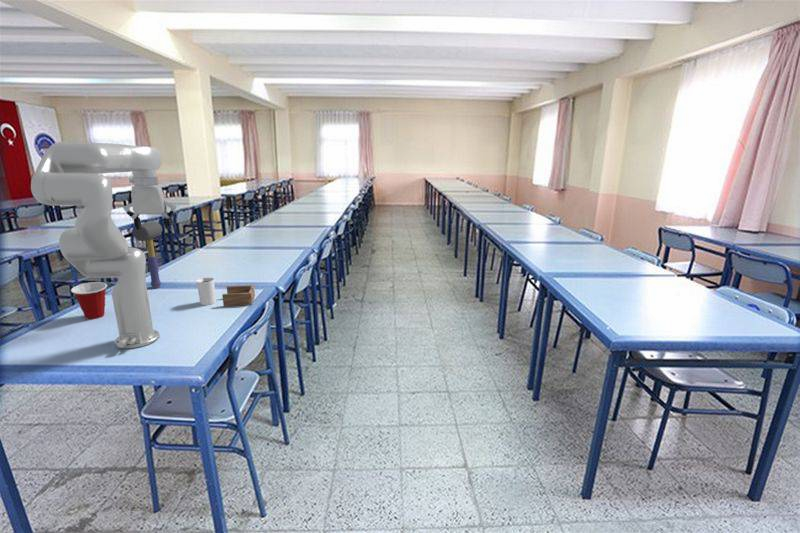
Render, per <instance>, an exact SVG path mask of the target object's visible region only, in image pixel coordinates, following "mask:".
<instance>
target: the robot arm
mask: <svg viewBox="0 0 800 533" xmlns="http://www.w3.org/2000/svg"><path fill="white" fill-rule="evenodd" d="M162 164H163V156H162V153H161V151H160V150H159V149H158V148H157V147H155V146H145V145H144V146H141V145H130V144H122V143H107V142H92V141H91V142H86V141H82V142H81V141H80V142H79V141H58V142H57V141H56V142H54V143H53V144H51V145H50V146H49V147H48V148H47V149H46V151H45V152H44V154H43V155H42V157H41V159H40V161H39V163H38V165H37V167H36V169H35V172H34V173H33V176H32V178H31V181H30V191H31V194H32V196H33V198H35V200H36V201H37V202H38V203H40V204H43V205H46V206H55V207H56V206H63V207H64V206H66V207H67V206H84V208H83V210H81V212H80V213H79V215H78V216H77V217H76V220H75V222H74V227H70V228H67V229H65V230H64V231H62V233H61V234H60V236H59V238H58V246H59V250H60V252H61V254H62V256H63V257H64V258H65V260H67V262H68V263H69V264H71V266H73V268H75V269H76V270H77V271H78V273H80V274H81V275H83V276H84V277H86V278H89V279H117V282H116V283H115V285H114V286H113V288H112V289H111V297H112V302H113V307H114V313H115V314H114V315H115V318H116V319H115V320H116V324H117V325H116V326H117V329H118V335H119V336H118V337H116V338H115V340H114V345H115V347H117V348H120V349H135V348H141V347H145V346H148V345H150V344H152V343H154V342H156V341H158V339H159V338H160V336H161V335H160V332H159V331H158V330H156V329H154V326H153V321H152V319H153V318H152V314H151V307H150V300H149V294H148V289H147V280H146V279H147V278H146V277H147V276H146V270H147V260H146V255H145V253H144V252H143V251H142V250H141V249H140V248H137V247H131V246H128V245H129V244H128V242H127V239H126V238H125V236H124V234H123V233H122V231H121V230H120V229H119V227H118V226H117V224H115V222H114V221H113V219H112V209H113V208H112V207H113V187H112V185H111V181H109V179H108V178H107V177H105V176H103V174H111V173H112V174H113V173H130V172H131V173H132V178H129V179H128V182H129V183H132V184H133V186H131V192H130V193H131V202H130V203H128V204H126V205H124V206H123V207H122V208H123V210H124V211H125V213H126V215H128V216H129V217H131V219H133V225H134V228H135V227H136V229H137V230H139V229H141V228H142V227H141V224H142V221H141V218H140V215H162V216H163V217H164V218H163V221H164V222H163V223H164V228H165V230H169V229H170V228H171V226H172V223H171V217H172V215H174V214H175V211H176V209H177V205H175V204H172V203H170V202H168V201H166V198H165V195H164V192H163V189H162V188H163V187H162V185H159V180H158V172H157V170H159V169H160V168H161V166H162ZM167 207H168V208H170V211H169V212H168V211H167ZM131 208H132V210H131Z"/></svg>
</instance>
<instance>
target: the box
mask: <svg viewBox="0 0 800 533" xmlns="http://www.w3.org/2000/svg"><path fill="white" fill-rule="evenodd" d="M226 292H227V293H222V303H223V307H233V306H232V305H239V306H252V305H253V303H254V300H255V296H256V294H255V293H256V290H255V285H254V284H248V285H247V284H246V285H229V286H228V285H227V286H226Z"/></svg>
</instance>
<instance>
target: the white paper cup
mask: <svg viewBox="0 0 800 533" xmlns="http://www.w3.org/2000/svg"><path fill="white" fill-rule="evenodd" d="M196 287H197V292H198V297H199V303H200V305H201V306H211V305H214V304H215V303H216V287H215V278H213V277H202V278H198V279H197V280H196Z"/></svg>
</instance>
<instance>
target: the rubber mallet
mask: <svg viewBox="0 0 800 533" xmlns="http://www.w3.org/2000/svg"><path fill="white" fill-rule="evenodd" d="M141 227H142V228H141V229H139V230H137V229H136V227H135V226H134V228H133V230H132V236H133V237H134V239H136V240H137V241H138V242H139V241H140V242H146V246H147V248H146V249H147V256H148V257H147V266H148V269H149V274H150V286H151V287H152V288H153V289H158V288H160V287H161V285H162V281H161V280H160V274H159V263H158V259H157V256H156V253H155V252H156V251H155V246H154V240H153V239H155V238H157V237H159V236H161V235H162V232H163V227H162V225H161V224H160V222H157V221H153V220H152V221H148V222H144V223H141Z"/></svg>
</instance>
